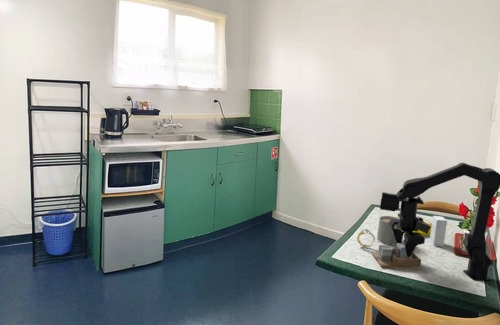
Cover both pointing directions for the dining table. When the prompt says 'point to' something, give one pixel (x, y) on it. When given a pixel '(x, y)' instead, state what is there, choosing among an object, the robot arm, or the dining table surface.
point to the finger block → (401, 251)
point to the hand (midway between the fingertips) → (403, 251)
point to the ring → (364, 233)
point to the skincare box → (438, 231)
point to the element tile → (424, 232)
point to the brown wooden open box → (395, 259)
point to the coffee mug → (386, 231)
